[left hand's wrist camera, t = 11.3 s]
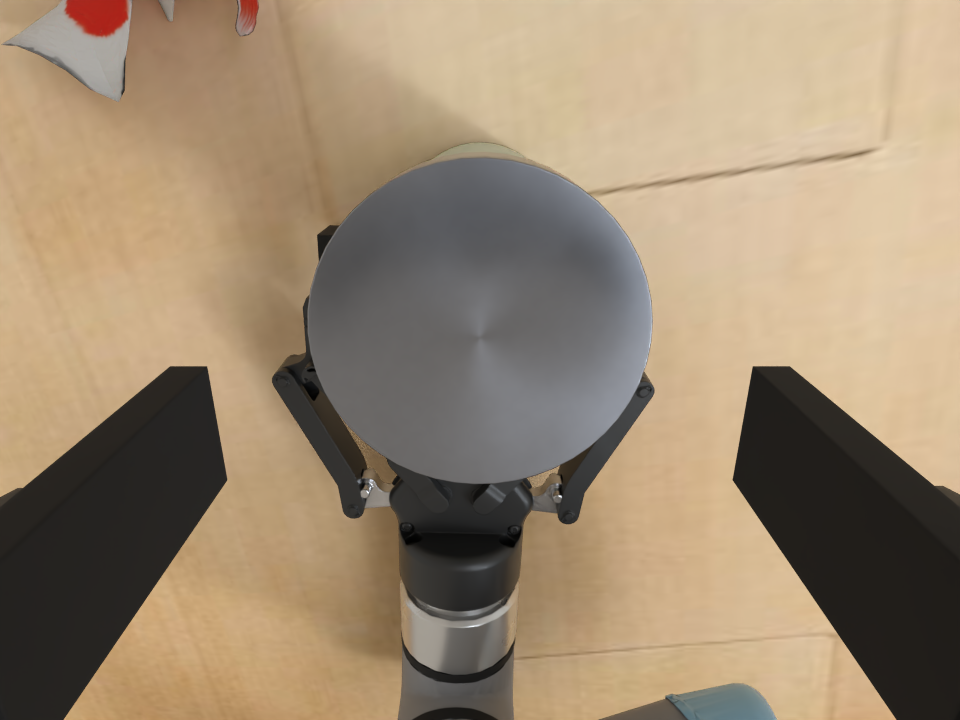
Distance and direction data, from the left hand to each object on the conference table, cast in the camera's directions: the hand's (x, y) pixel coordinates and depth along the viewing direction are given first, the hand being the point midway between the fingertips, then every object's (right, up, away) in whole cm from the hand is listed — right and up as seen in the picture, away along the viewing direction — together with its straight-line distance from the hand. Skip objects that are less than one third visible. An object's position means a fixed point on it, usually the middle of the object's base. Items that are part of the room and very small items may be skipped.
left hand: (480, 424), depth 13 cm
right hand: (-1, +8, +18) cm, 19 cm away
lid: (0, +2, +5) cm, 6 cm away
